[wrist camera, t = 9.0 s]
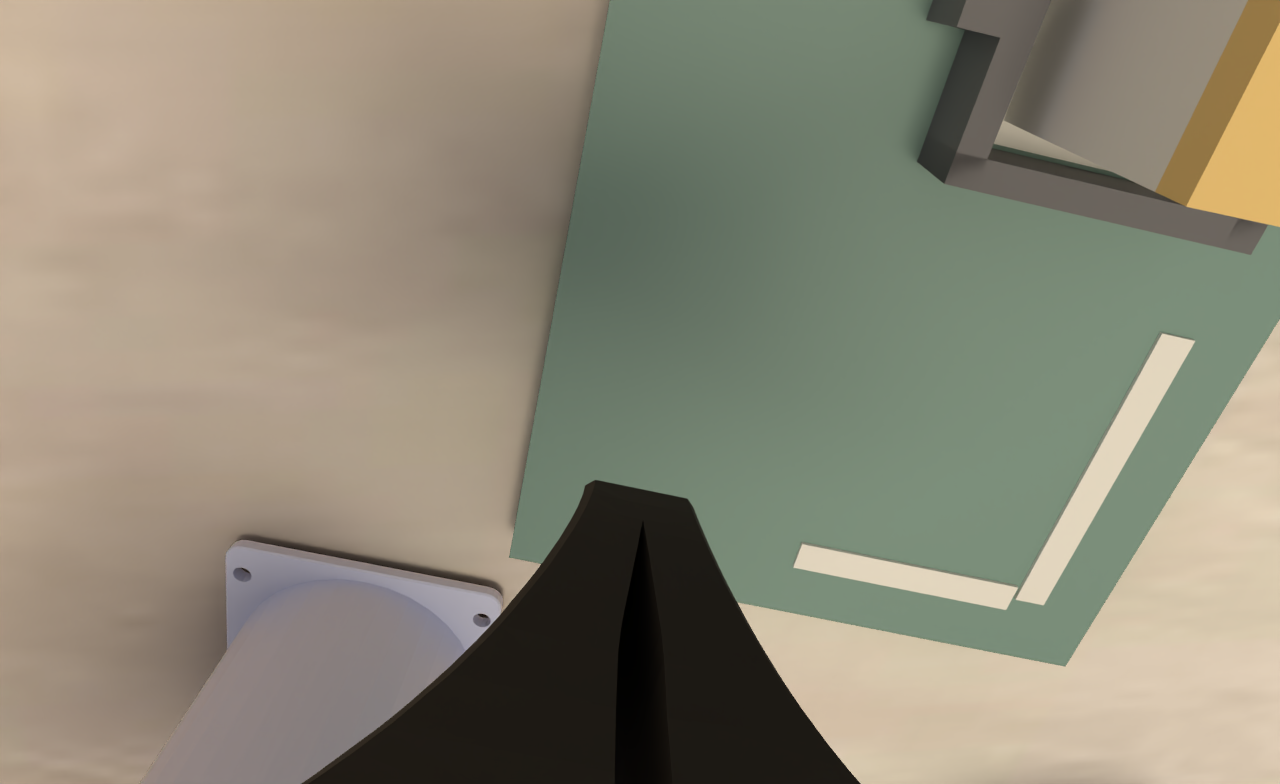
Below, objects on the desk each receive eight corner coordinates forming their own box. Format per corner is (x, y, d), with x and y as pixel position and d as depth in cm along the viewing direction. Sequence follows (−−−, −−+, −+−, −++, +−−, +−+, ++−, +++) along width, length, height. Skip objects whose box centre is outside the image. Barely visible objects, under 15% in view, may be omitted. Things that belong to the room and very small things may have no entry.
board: (1048, 636, 25) (1096, 723, 22) (516, 530, 24) (494, 608, 21) (1587, -276, 15) (1805, -334, 12) (709, -524, 14) (717, -651, 11)
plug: (1166, 156, 17) (1434, 260, 11) (1003, 120, 17) (1186, 206, 11) (1301, -124, 15) (1732, -185, 9) (1116, -169, 15) (1424, -263, 9)
